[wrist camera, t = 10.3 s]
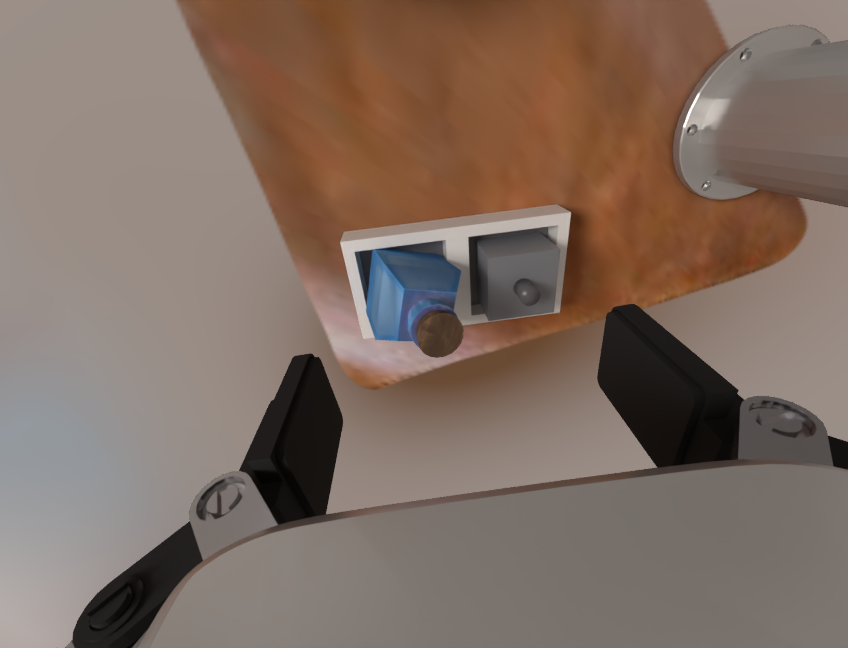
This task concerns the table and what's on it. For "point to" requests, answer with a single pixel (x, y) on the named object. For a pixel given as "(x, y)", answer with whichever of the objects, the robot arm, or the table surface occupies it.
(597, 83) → the table surface
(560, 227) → the socket strip
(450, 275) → the perfume bottle
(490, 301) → the charcoal plug block
